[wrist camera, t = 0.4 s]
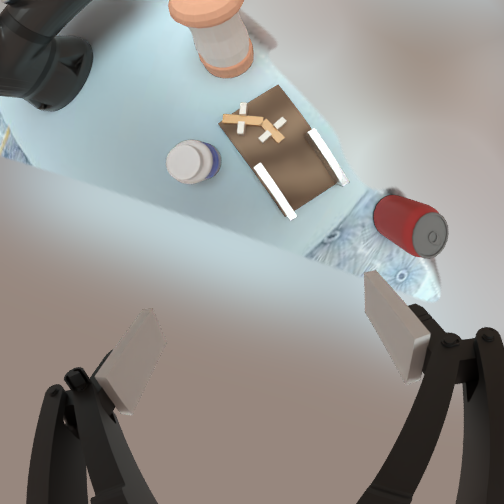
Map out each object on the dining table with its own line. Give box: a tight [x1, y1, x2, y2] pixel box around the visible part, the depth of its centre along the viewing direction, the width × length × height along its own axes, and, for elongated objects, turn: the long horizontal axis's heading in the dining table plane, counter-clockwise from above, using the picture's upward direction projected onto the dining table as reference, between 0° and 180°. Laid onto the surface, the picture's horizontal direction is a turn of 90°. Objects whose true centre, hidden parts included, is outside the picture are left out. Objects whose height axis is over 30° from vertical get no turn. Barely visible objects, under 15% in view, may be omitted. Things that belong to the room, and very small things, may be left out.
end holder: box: [254, 128, 349, 221], centre depth 33 cm, size 8×9×4 cm
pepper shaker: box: [168, 0, 253, 78], centre depth 22 cm, size 7×7×19 cm
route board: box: [218, 85, 335, 217], centre depth 35 cm, size 16×10×1 cm, turn 35°
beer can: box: [374, 195, 448, 259], centre depth 32 cm, size 7×7×12 cm
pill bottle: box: [166, 140, 221, 184], centre depth 32 cm, size 5×5×10 cm
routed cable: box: [222, 102, 287, 144], centre depth 32 cm, size 8×7×2 cm
